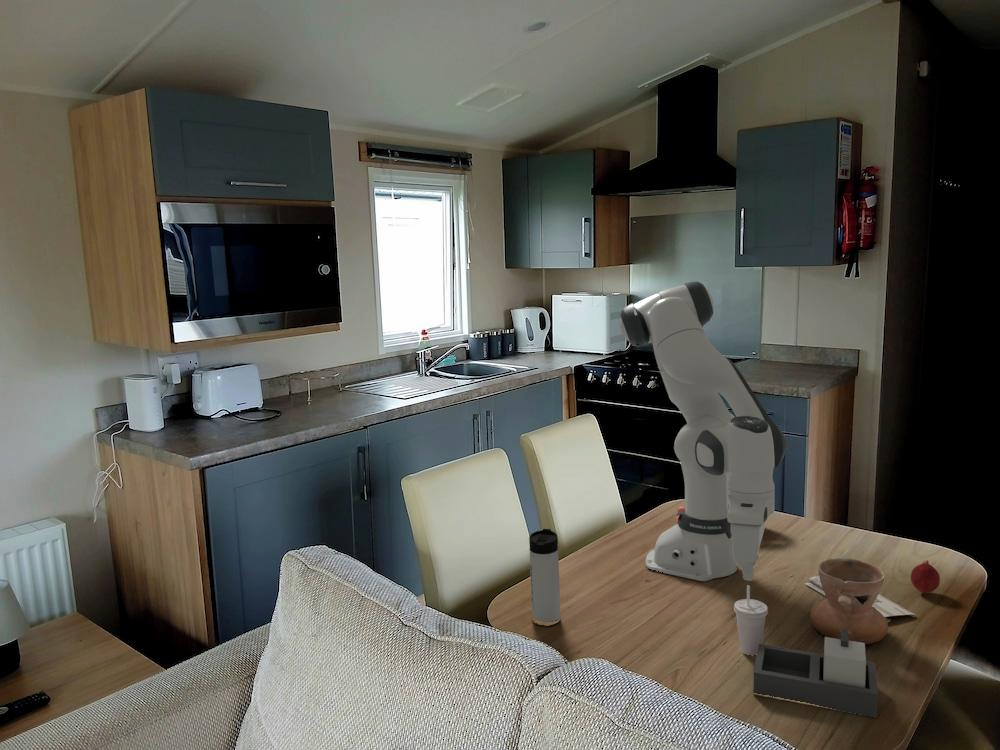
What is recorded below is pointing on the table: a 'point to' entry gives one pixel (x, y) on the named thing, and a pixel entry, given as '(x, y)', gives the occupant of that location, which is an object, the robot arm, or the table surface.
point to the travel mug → (544, 575)
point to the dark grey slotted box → (820, 676)
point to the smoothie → (750, 623)
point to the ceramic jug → (850, 601)
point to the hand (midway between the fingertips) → (750, 569)
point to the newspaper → (880, 604)
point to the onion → (925, 577)
